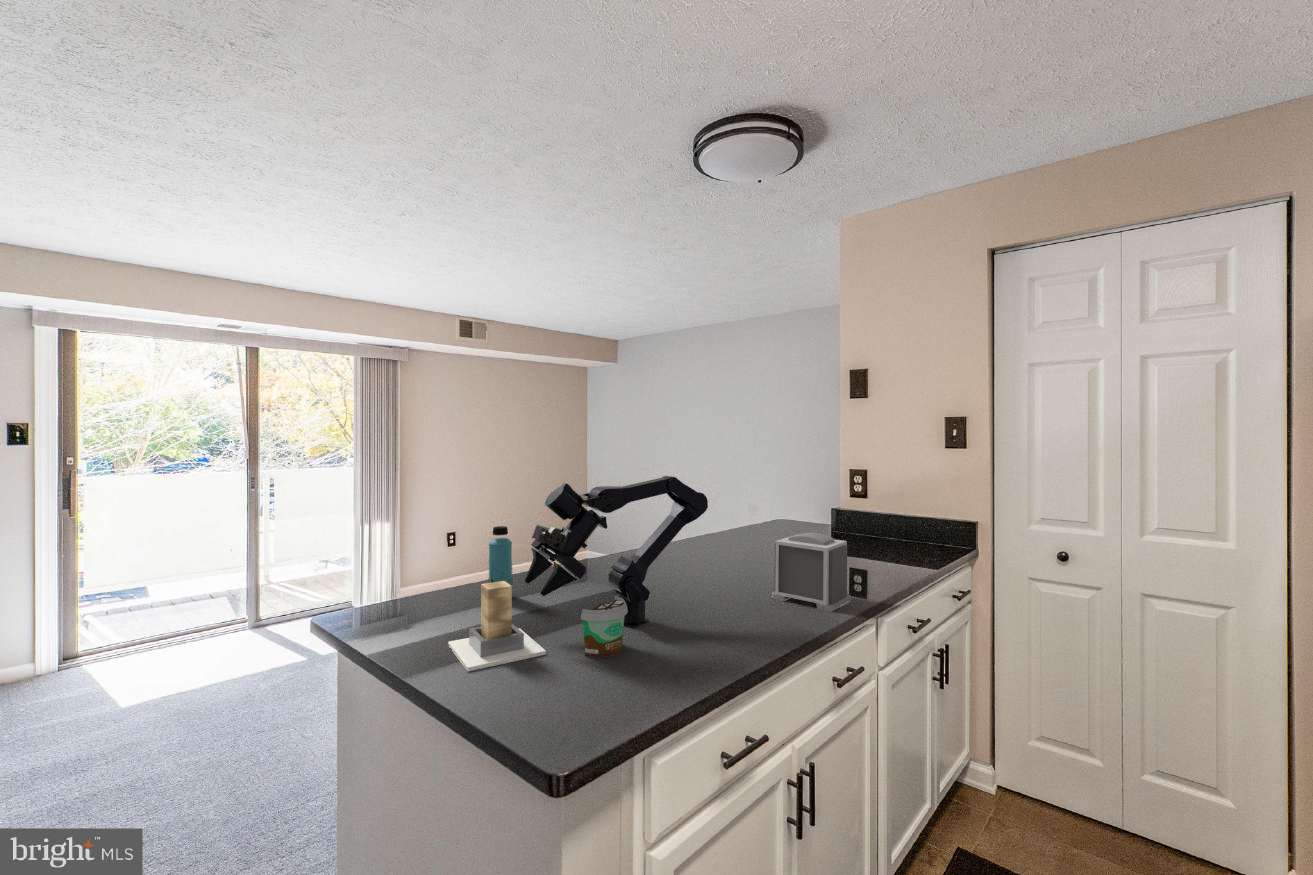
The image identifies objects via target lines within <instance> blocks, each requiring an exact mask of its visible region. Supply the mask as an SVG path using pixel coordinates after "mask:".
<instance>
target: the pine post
mask: <svg viewBox="0 0 1313 875" xmlns="http://www.w3.org/2000/svg"><path fill="white" fill-rule="evenodd" d="M480 586H481V587H480V596H481V597H480V627H481V636H482V638H483V639H489V638H494V637H499V636H504V635H510V634H512V624H513V622H512V619H513V618H512V614H513V612H512V611H513V610H512V609H513V607H512V603H513V602H512V601H513V598H512V597H513V596H512V595H513V594H512V592H513V590H512V588H513V585H512V586H511V585H509V584H508V583H507V582H505V581H500V582H492V583H489V582H486V583H481V584H480Z"/></svg>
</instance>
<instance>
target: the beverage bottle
mask: <svg viewBox="0 0 1313 875" xmlns="http://www.w3.org/2000/svg"><path fill="white" fill-rule="evenodd" d="M508 534H509V531H508V527H507V526H506V525H501V526H494V527H493V528H492V535H493V536H506V535H508ZM512 544H513V542H512V540H511V539H509V538H508V537H494V538H492V539H491V540H490V541H489V542H488V583H492V582H500V581H505V582H507V583H508V584H509V585H511V586H512V591H513V561H512V559H513V558H512V557H513V556H512V554H513V551H512V550H513V549H512Z"/></svg>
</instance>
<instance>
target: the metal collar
mask: <svg viewBox="0 0 1313 875" xmlns="http://www.w3.org/2000/svg"><path fill="white" fill-rule="evenodd" d="M523 632H524V631H523ZM523 632H521V631H520V630H519V627H517V626H516V625H515V624H514V623H512V634H510V635H504V636H499V637H494V638H489V639H483V638H482V636H481V626H478V627H471V628H468V638H469V644H470V646H471V647H472V648H473V649H474V650H475V652H476V653H477V654H478V655H479V656H480V658H481V657H486V656H491V655H496V654H501V653H505V652H510V651H515V650H520V649H524V633H523Z"/></svg>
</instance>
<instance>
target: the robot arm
mask: <svg viewBox="0 0 1313 875" xmlns="http://www.w3.org/2000/svg"><path fill="white" fill-rule="evenodd" d="M665 494H666V495H667V496H668V497H669V498H670V499H671V500H672V501H673V503H672V505H671V508H670V512H669V514H668V515H667V516H666V517H665V519H664V520H662V521H661V523H660V524H659V525H658V527H656V528H655V530H654V531H653V532H652V534H650V536H649V537H647V539H646V540H645V541H644V542H643V544H642V545H641V546H640V547H639V548H638V550H636V552H634V554H633V555H631V556H629V557H627V556H624V555H621V556H620V557H619V558H618V559H617V560H616V562H615V563H614V564H613V565H611V566H610V568H611V569H610V571H609V573H608V575H607V576H608V580H607V581H608V583H609V585H610V587H611V588H613V589H614V593H615V595H617V597H620V598H623V599H624V600H625V603H626V605H627V610H628V613H627V614H626V615H625V616H624V627H627V628H632V629H635V628H637V627H639V626H641V625H643V624H646V623H648V622H650V619H649V618H647V617H646V601H648V600H649V598H650V594H651V592H650V590H649V589H648V588H647V587H646V586H645V585H644V581H645V580H646V576H647V573H648V570H649V568H650V566H651V565H652V564H653V563H654V561H656V559H657V558H658V557H659V556H660V554H661V553H662V552H663V551H664V550H665V549H666V548H667V547H668V545H669V544H670V543H671V542H672V541H673V540H674V538H675V537H676V536H677V534H679V532H680V531H681V530H682V529H683V528H684V527H685V526H686V525H688V524H690V523H693V522H694V521H695V520H697V519H698V518H700V517H701V516H702V515H704V514H705V513H706V511H707V510H708V507H709V505H708V503H709V502H708V498H707V496H706V494H704V493H703V492H699V491H696V490H695V489H694V488H692V487H690V486H688V485H687V484H685V483H683V482H682V481H681V480H680V479H679V478H677V477H676V476H671V475H663V476H661V477H658V478H654V479H650V480H646V481H640V482H637V483H630V484H628V485H622V486H620V485H619V486H613V485H612V486H611V485H607V486H605V485H604V486H603V485H602V486H595V487H593V488H591V489H590V491H589V492H586V493H583V494H578V492H577V491H575V490H574V489H573V487H572V486H570V484H569V483H567V482H563V483H562V484H561V485H560V486H558V487H557V488H556V489H554V490H553V491H551V492H550V493H549V494H548V496H547V497H546V499H545V501H544V505H545V506H546V507H547V508H548V510H550V511H552V512H553V513H554V514H555V515H557V516H558V517H559V518H560V519H561V520H562V521H566V520H570V521H569V522H568V524H567V525H566V526H565V527H564V526H561V527H554V526H551V527H547V526H544V525H541V524H536V525H535V529H534V530H533V534H532V536H531V539H533V541H532V543H531V544H530V546H532V547H531V551H532V561H531V563H530V567H529V569H528V571H527V574H526V577H525V578H524V582H525V583H526V584H527V585H528V584H530V583H531V582H533V581H534V580H536V579H537V578H539V577H540V576H541V575H542V574H543V573H545V572H546V571H547V570H549V569H550V567H552V566H553V571H552V573H551V574H550V576H549V578H548V579H547V581H546V582H545V584H544V586H543V587H542V589H541V590H540V592H539V594H540V595H541V596H542V597H545V596H547V595H549V594H551V593H553V592H555V591H556V590H558V589H560V588H562V587H563V586H566V585H568V584H569V583H572V582H576V581H577V580H580V581H582V579H583V578H584V576H586V574H587V567H586V566H585V565H584V564H583V563H582V562H580V561H579V560H578V559H577V558H576V557H575V556H576V555H577V554H578V552H579V551H580V550H581V548H583V550H584V549H586V548H587V546H588V544H586V542H587V541H588V539H589V538H590V536H591V535H592V534H593V533H594V532H595V530H596V529H597V528H598V527H600V528H602V529H605V530H606V529H607V528H608V524H607V517H606V516H604V515H601V516H600V515H599V514H598V513H596V511H597V512H601V513H604V514H610V513H613V512H615V511H618V510H620V509H622V508H624V506H626V505H627V504H629V503H633V502H636V501H640V500H644V499H648V498H652V497H657V496H661V495H665ZM584 506H586V507H589V508H590V509H589V510H588V509H586V508H585V507H584ZM558 563H559V564H558ZM577 578H578V579H577Z"/></svg>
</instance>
